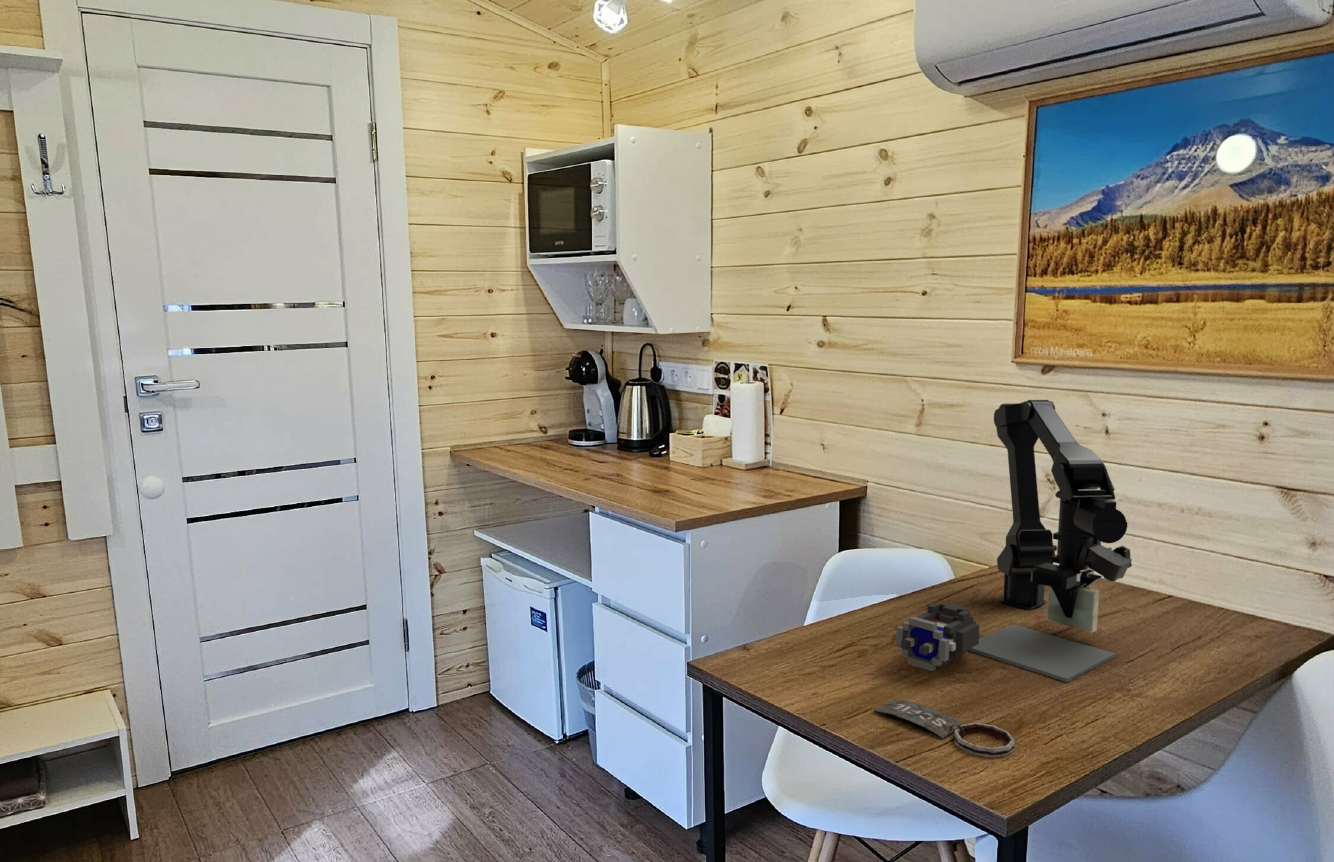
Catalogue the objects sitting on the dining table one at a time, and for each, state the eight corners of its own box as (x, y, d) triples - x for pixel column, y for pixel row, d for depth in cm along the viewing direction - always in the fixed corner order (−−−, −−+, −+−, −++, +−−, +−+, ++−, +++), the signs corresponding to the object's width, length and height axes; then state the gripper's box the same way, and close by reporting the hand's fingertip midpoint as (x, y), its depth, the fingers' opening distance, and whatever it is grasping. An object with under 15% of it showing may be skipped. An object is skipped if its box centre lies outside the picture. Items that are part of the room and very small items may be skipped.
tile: (1046, 620, 156) (1048, 582, 155) (1051, 618, 157) (1053, 580, 156) (1091, 632, 150) (1094, 593, 149) (1096, 630, 151) (1099, 590, 150)
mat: (962, 648, 149) (962, 645, 149) (1012, 627, 159) (1013, 624, 159) (1067, 682, 135) (1067, 678, 135) (1114, 656, 145) (1115, 653, 145)
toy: (889, 617, 140) (938, 596, 150) (888, 669, 141) (936, 645, 151) (939, 631, 133) (986, 608, 144) (937, 685, 135) (984, 659, 145)
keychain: (900, 701, 130) (901, 688, 130) (1026, 747, 116) (1026, 733, 116) (869, 717, 125) (869, 703, 125) (996, 767, 111) (997, 752, 111)
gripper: (1098, 547, 139) (1092, 641, 141) (1149, 528, 151) (1143, 616, 153) (1031, 533, 148) (1026, 623, 150) (1084, 517, 160) (1079, 600, 162)
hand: (1071, 616), depth 154 cm, fingers closed on tile, 2 cm apart
